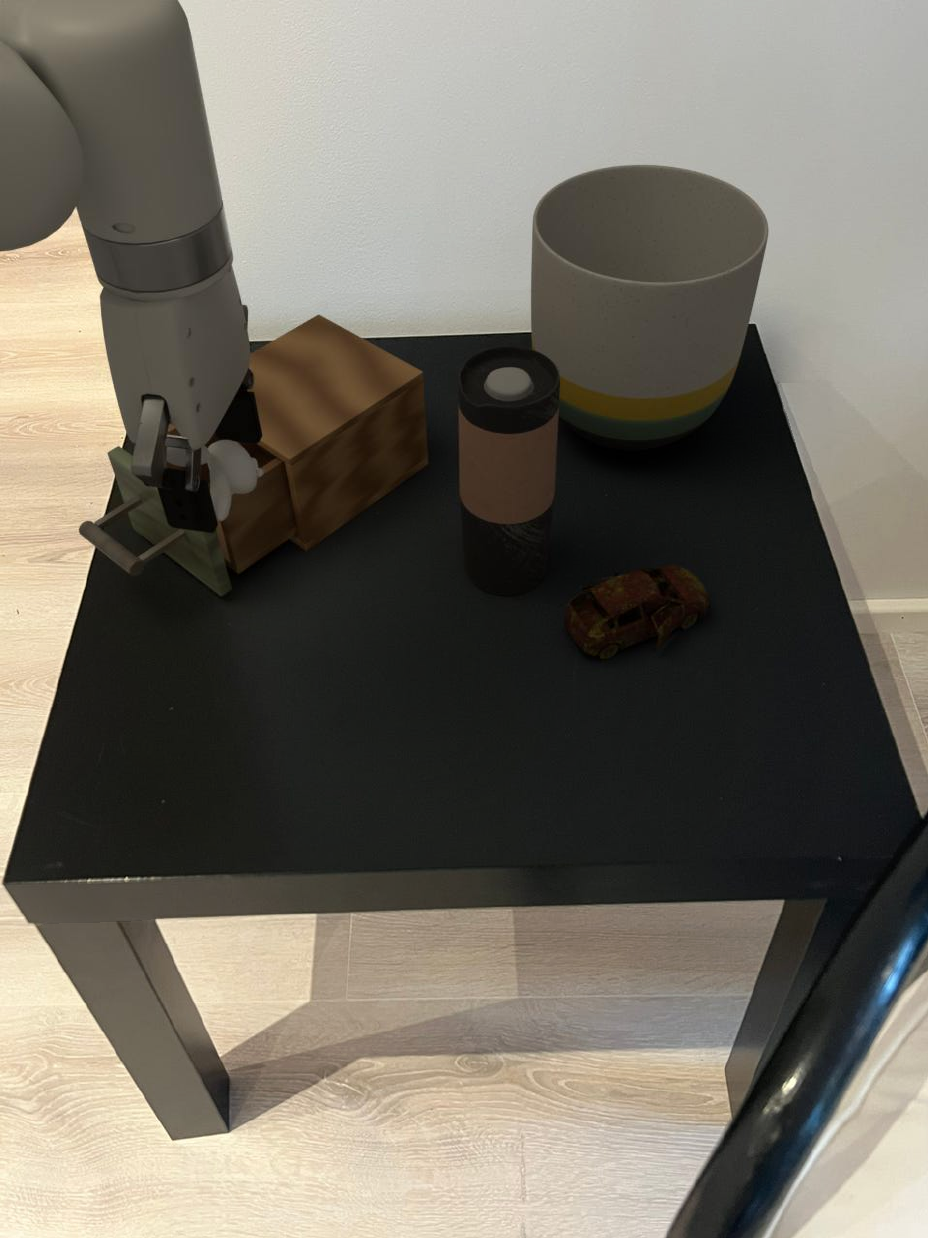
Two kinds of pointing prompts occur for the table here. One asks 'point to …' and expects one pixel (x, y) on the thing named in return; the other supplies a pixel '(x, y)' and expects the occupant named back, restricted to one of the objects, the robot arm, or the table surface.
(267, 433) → the cabinet
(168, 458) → the rabbit figurine
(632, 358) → the planter
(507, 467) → the travel mug
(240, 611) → the table surface
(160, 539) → the drawer
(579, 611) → the toy car
